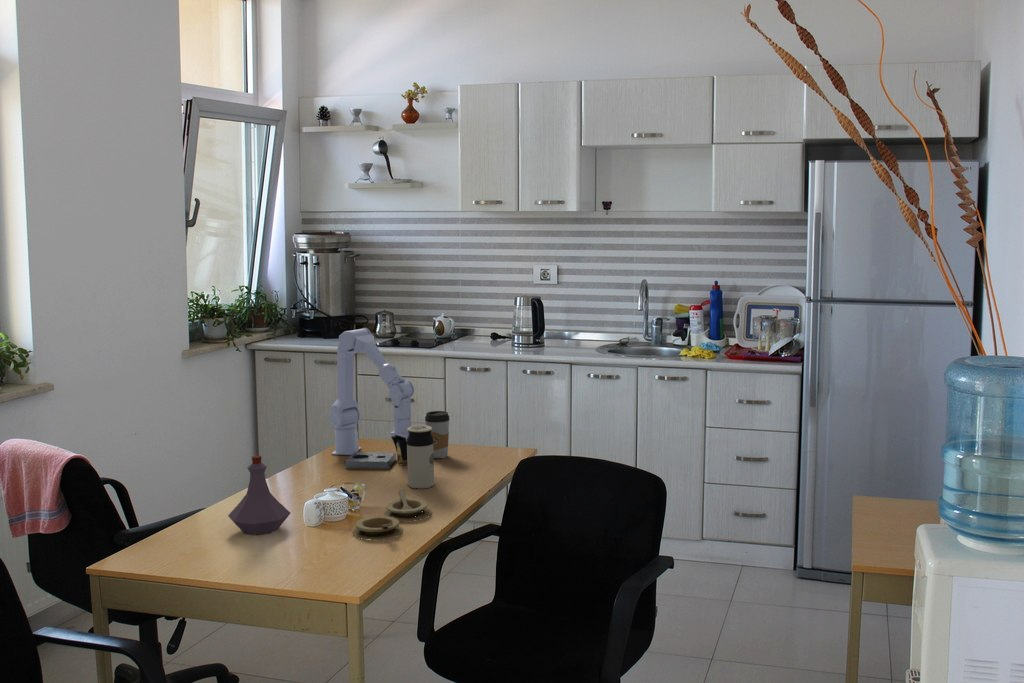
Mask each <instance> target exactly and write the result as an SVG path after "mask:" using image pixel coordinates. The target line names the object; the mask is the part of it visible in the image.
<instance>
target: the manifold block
mask: <svg viewBox="0 0 1024 683" xmlns="http://www.w3.org/2000/svg"><path fill="white" fill-rule="evenodd" d="M396 457H397V452H386V451H385V452H382V451H381V452H380V451H379V452H378V451H377V452H376V451H375V452H374V451H372V452H371V451H369V452H368V451H358V452H354V453H353V454H352V455H349V457H348V458H347V459H346V460H345V461H344V463H345V466H344V467H345V469H346V470H347V469H349V470H350V469H352V470H355V469H356V470H389V469H390V467H391V466H393V464H394V463H393V462H395V461H396V460H397V458H396Z"/></svg>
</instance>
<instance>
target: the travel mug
mask: <svg viewBox="0 0 1024 683" xmlns="http://www.w3.org/2000/svg"><path fill="white" fill-rule="evenodd" d="M407 430H408V432H409V435H408V437H407V464H406V465H407V486H408V487H410V488H411V489H416V488H417V490H423V488H425V489H430V488H431V486H432V487H433V486H434V485H435V467H434V466H435V462H434V460H435V459H434V451H433V437H432V435H431V430H432V427H430V426H426V424H423V425H411V427H409V428H407Z"/></svg>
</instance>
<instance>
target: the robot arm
mask: <svg viewBox="0 0 1024 683" xmlns="http://www.w3.org/2000/svg"><path fill="white" fill-rule="evenodd" d="M336 350H337V351H336V352H337V353H336V357H337V361H336V363H337V364H336V367H337V368H336V371H337V374H336V378H337V379H336V391H337V392H336V393H337V394H336V400H335V402H334V403H332V405H331V406H330V413H329V416H328V421H329V424H330V426H332V429H334V449H335V450H334V451H332V453H331V455H336V456H337V455H338V456H339V455H340V456H341V455H342V456H344V455H347V456H348V455H349V456H351V455H352V454H353V453H354V452H360V450H361V449H362V447H361V446H359V437H358V436H359V434H358V433H359V432H358V429H357V426H358V423H359V421H360V420H361V413H360V410H359V404H358V402H357V401H355V400H354V362H355V360H354V359H355V358H354V355H356V353H363V354H365V355H366V356H367V357H368V359H369V360H370V361H372V363H373V364H374V365H375V366H376V367H377V369H378V376H379V377H380V379H381V380H382V381H383V383H384V384H385V386H386V387H387V388H388V389H389V390H388V395H389V397H390V399H391V404H392V406H393V407H392V411H393V413H392V414H393V426H392V431H390V435H391V437H390V438H391V439H392V442H393V444H394V447H395V450H396V452H397V442H398V444H399V447H400V450H401V457H402V460H407V437H408V435H409V432H408V430H407V428H409V427H411V426H412V411H411V410H412V408H411V407H412V406H411V397H413V395H414V393H415V388H414V385H413V384H412V382H411V381H410V380H409V379H408V380H407V379H405V378H403V376H402V374H401V373H400V372H399V371H398V370H397V367H396V366H395V365H394V364H392V363H388V361H387V360H386V359H385V356H383V354H382V352H381V351H380V349H379V348H378V346H377V344H376V343H375V337H374V334H372V333H371V331H370V329H369V328H367V327H362V328H359V329H353V330H345V331H342V333H340V334H339V336H338V345H337V349H336Z"/></svg>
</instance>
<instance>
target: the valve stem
mask: <svg viewBox="0 0 1024 683" xmlns="http://www.w3.org/2000/svg"><path fill="white" fill-rule="evenodd" d="M396 457H397V458H396V460H397V461H396V462H397V465H400V464H403V465H404V464H406V465H408V464H407V460H402V457H401V450H400V447H399V444H398V442H397V451H396Z"/></svg>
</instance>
